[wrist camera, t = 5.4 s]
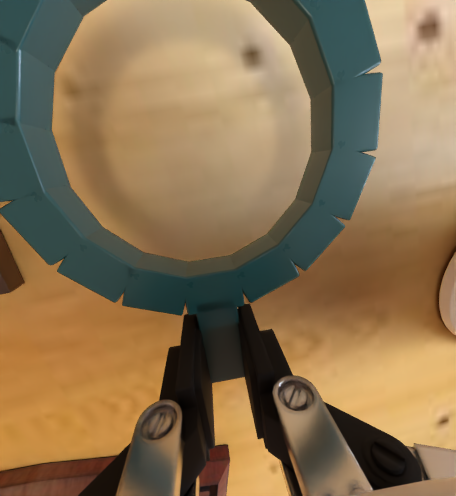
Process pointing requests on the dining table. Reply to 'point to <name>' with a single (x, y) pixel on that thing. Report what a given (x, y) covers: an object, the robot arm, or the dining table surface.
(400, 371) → the dining table surface
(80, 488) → the control panel
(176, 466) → the robot arm
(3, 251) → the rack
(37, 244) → the ring
